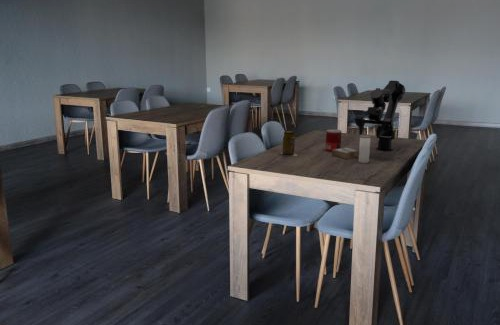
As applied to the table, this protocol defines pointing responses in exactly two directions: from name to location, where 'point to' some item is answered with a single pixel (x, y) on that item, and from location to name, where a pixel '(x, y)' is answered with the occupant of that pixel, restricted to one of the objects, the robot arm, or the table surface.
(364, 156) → the tumbler
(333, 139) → the canned food
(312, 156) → the table surface
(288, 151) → the condiment
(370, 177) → the table surface
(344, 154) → the plinth
